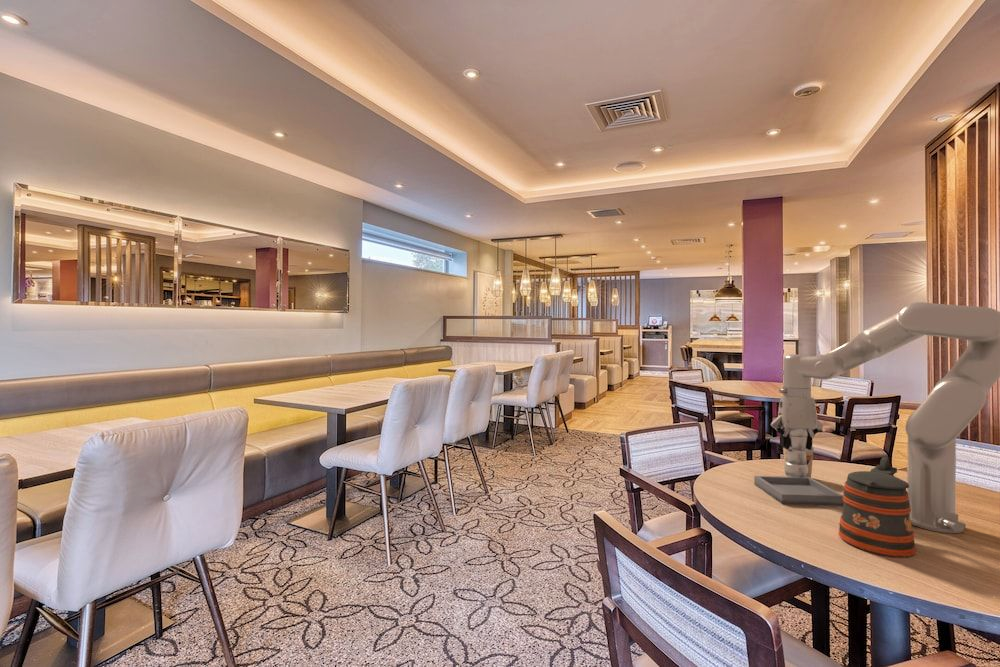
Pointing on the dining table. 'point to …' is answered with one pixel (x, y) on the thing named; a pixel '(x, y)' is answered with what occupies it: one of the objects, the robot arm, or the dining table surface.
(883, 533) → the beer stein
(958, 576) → the dining table surface
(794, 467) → the plastic bottle
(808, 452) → the coffee cup
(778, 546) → the dining table surface
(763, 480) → the tray
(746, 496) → the dining table surface
